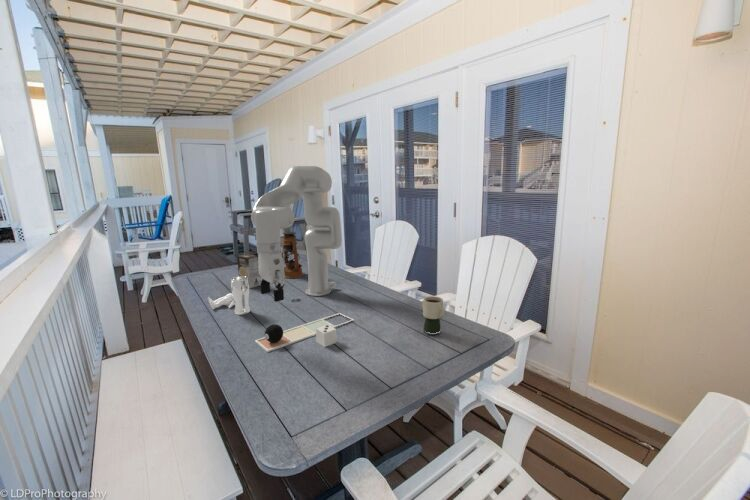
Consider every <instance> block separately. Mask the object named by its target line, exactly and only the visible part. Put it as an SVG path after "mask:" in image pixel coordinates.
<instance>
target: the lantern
mask: <svg viewBox="0 0 750 500" xmlns="http://www.w3.org/2000/svg"><path fill="white" fill-rule="evenodd" d="M296 234H297V233H296V231H291V230H290V229H287V231H284V232H282V235H283V238H282V242H283V243H282V245H283V246H282V252H281V254H282V259H283V262H284V265H285V266H284V274H285V279H298V278H301V277H303V276H304V275H303V274H304V273H303V268H302V267H303V266H302V265H303V264H301V263H299V260H300V258H299V257H300V256H299V255H300V253H298V249H297V244H298V242H297V238H296ZM292 255H293V258H292ZM302 275H303V276H302Z"/></svg>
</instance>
